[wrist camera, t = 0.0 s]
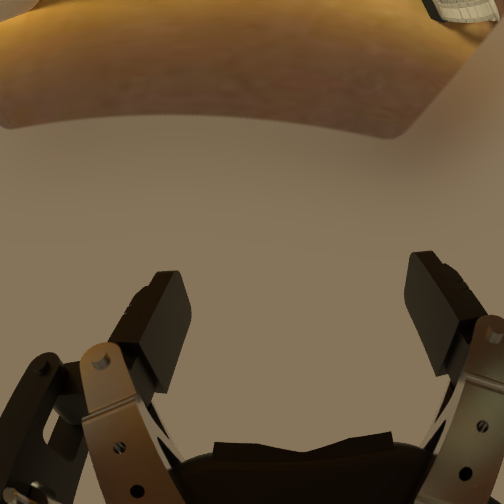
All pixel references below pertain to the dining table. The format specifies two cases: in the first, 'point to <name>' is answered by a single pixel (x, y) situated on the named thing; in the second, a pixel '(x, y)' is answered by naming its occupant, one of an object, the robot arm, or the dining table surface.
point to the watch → (462, 10)
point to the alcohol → (15, 8)
